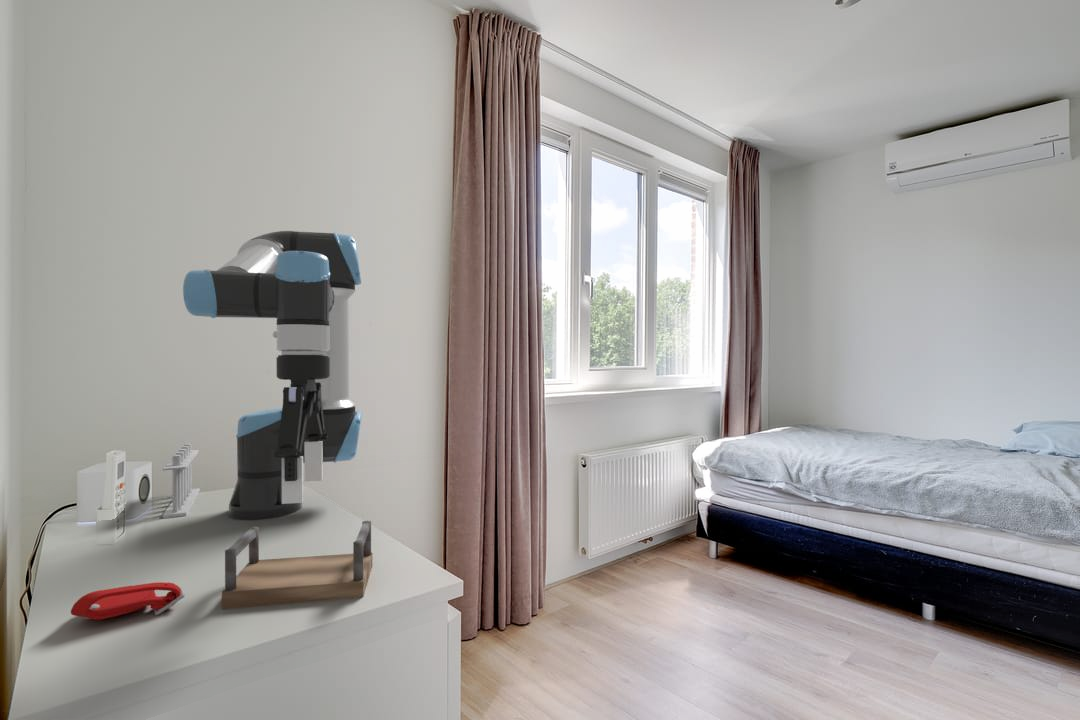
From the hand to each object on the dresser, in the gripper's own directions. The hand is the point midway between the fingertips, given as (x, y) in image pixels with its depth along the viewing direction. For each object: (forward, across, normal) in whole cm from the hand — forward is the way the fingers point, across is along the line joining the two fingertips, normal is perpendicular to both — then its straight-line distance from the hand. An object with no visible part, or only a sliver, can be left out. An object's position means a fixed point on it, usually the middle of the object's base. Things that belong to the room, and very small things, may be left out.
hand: (304, 491), depth 84 cm
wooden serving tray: (+15, 0, 0) cm, 15 cm away
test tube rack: (+16, -56, -40) cm, 71 cm away
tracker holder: (+13, +1, -19) cm, 23 cm away
